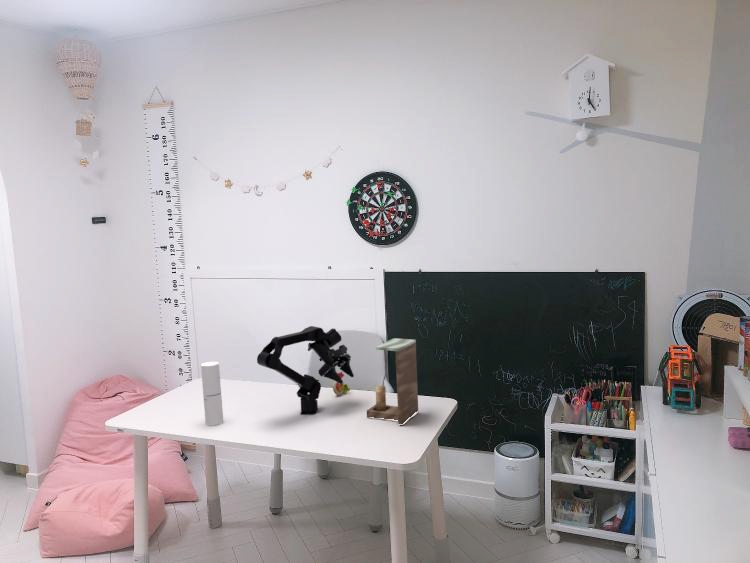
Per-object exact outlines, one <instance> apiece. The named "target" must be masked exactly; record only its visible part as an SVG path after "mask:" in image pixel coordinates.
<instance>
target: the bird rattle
mask: <svg viewBox="0 0 750 563" xmlns="http://www.w3.org/2000/svg"><path fill="white" fill-rule="evenodd" d="M337 374H338V375H339V376H340V378H341V379H343V378H344V376H345V374H344V373H343V371H339V373H338V372H337ZM332 391H333V393H334V394H335V395H336V397H340V396H341V395H342V394H343V393H344V394H345V393H346V394H347V393H348V392H350V391H351V388H350V387H349V386H348V383H344V382H343V383H339V382H337V381H334V380H333V384H332Z"/></svg>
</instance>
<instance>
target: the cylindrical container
mask: <svg viewBox="0 0 750 563" xmlns="http://www.w3.org/2000/svg"><path fill="white" fill-rule="evenodd" d="M200 369H201V382H202V395H203V396H202V397H203V406H204V407H203V408H204V419H205V425H206V426H208V427H216V426H220V425H223V423H224V413H223V412H224V409H223V400H222V398H223V396H222V386H221V385H222V384H221V372H220V371H221V370H220V362H218V361H207V362H203V363H201V364H200Z"/></svg>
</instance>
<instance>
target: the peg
mask: <svg viewBox="0 0 750 563" xmlns="http://www.w3.org/2000/svg"><path fill="white" fill-rule="evenodd" d="M386 396H387V394H386V386H384V385H377V386H376V387H375V405H376V409H377V411H383V412H385V411H386V405H387V400H386V399H387V398H386Z"/></svg>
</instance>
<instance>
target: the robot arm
mask: <svg viewBox="0 0 750 563" xmlns="http://www.w3.org/2000/svg"><path fill="white" fill-rule="evenodd" d="M304 342H309V343H308V344H307V351H308V352H311V350H313V351H314V353H316V355H317V356H318V357H319V359H318V360H319V361H320V362H323V363H324V364H323V365H322V366H320V368H319V370H318V375H319V376H320V377H321V378H322V377H323V378H326V379H329V380H332V381H333V382H334V381H337V382H339V384H340V383H344V381H343V378H340V376H339V375H338V374H337V373H338V372H337V371H336V367H338V368H339V370H341V372H342V373H345V374H346V375H348V376H349V377H351V378H354V377H355V375H354V373H353V371H352V370H353V369H352V368H351V365H350V363H351V362H350V361H351V358H352V356H351V355H350V354H349V353H348V347H347V346H346V344H341V345H339V346H338V348H337V349H334V346H336V345H338V344H339V343H341V342H342V335H341V334H340V333H339V332H338V331H337V330H336V328H331V329H330V330H328V331H327V332H325V331H324V329H323V328H322V327H319V326H314V325H313V326H312V325H310V326H308V327H305V328H304V329H303V330H301V331H298V332H293V333H288V334H285V335H281V336H274V337H273V338H272V339H271V340H270V341H269V343H267V345H265V346H264V347H263V349H262V350H261V352H260V353H258V355H257V357H256V362H257V364H258V365H259V366H261V367H265V368H268V369H271V370H273V371H276V372H277V373H279V374H280V375H282V376H283V377H286V378H287V379H289V380H290V381H292V382H293V383H295V384H296V385H297V386H298V387H299V389H298V390H297V392H296V395H297V398H300V399H299V400H300V410H301V411H300V415H316V413H317V411H319V410H318V409H319V405H318V399H319V398H320V394H321V389H322V383H321V382H320V380H319V379H317V378H315V377H314V376H312V375H310V374H306V373H304V374H303V375H302V374H301V373H299V372H297V371H296V370H294V369H293V368H291V367H289V366H288V365H286V364H285V363H283V362H282V360H281V359H280V358H281V356H282V352H283V349H284V347H285V346H286V347H287V346H292V345H294V344H298V343H299V344H300V343H304ZM332 347H333V348H332Z"/></svg>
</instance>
